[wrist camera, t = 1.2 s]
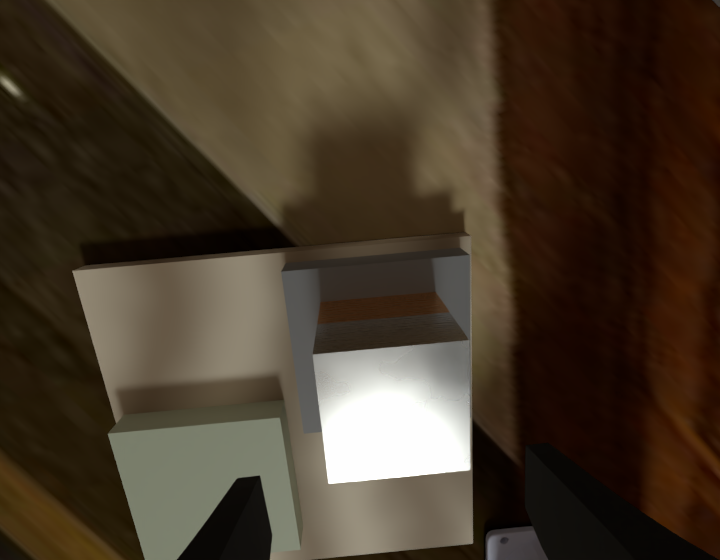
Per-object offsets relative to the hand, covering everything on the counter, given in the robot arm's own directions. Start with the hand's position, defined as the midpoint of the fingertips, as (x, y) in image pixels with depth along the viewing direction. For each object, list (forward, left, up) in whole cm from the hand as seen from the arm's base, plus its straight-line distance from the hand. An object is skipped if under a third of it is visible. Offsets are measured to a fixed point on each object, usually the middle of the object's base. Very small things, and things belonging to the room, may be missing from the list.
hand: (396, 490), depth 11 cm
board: (+4, +4, -10) cm, 12 cm away
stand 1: (+9, +7, -10) cm, 15 cm away
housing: (0, 0, -8) cm, 8 cm away
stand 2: (0, 0, -10) cm, 10 cm away
